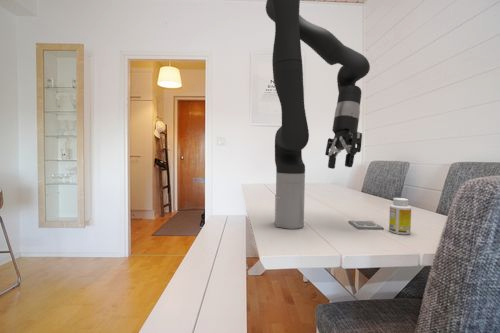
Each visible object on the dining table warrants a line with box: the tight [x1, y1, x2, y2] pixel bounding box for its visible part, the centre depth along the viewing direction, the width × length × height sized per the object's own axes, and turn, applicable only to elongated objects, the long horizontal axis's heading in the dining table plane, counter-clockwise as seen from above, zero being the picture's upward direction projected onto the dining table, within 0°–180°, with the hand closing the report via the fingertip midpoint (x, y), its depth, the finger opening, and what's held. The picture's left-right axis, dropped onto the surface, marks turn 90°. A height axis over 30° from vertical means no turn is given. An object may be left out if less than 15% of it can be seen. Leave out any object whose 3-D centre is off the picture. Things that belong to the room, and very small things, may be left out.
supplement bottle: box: [388, 197, 412, 235], centre depth 76 cm, size 6×6×10 cm
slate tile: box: [347, 220, 384, 231], centre depth 83 cm, size 8×8×1 cm
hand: (339, 167), depth 79 cm, fingers open, 8 cm apart
